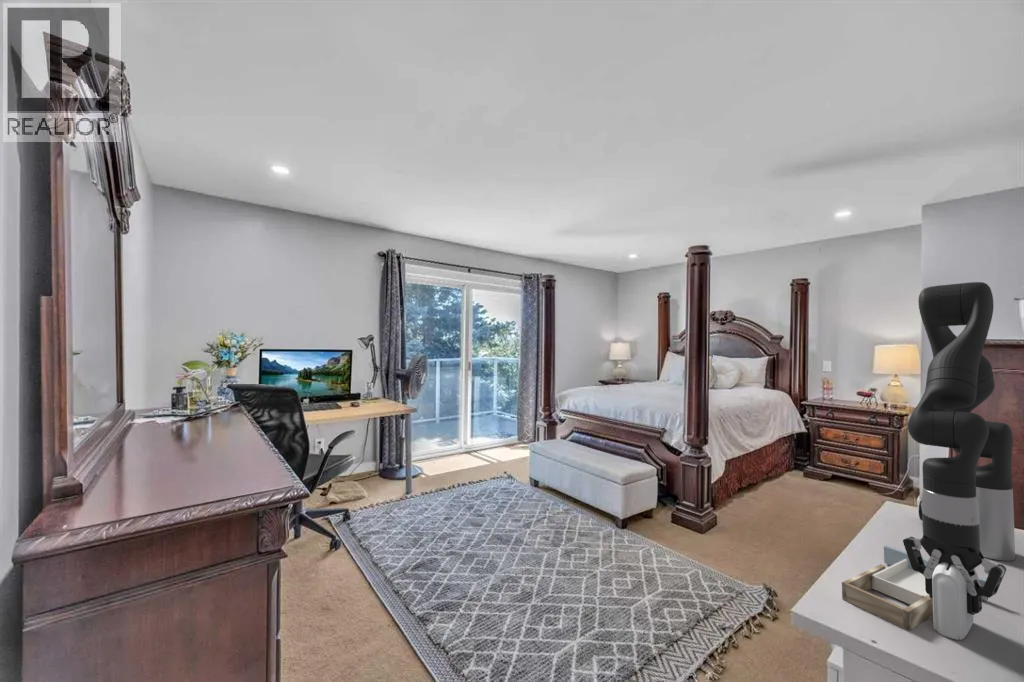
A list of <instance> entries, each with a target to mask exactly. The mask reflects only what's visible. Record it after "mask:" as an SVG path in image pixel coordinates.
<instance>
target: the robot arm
mask: <svg viewBox="0 0 1024 682" xmlns="http://www.w3.org/2000/svg"><path fill="white" fill-rule="evenodd" d="M917 302H918V310H919V314H920V317H921V321H922V323H923V327H924V330H925V332H926V335H927V339H928V342H929V344H930V348H931V351H932V360H931V361H930V363H929V365H928V368H927V373H926V382H925V388H924V392H923V395H922V397H921V398H920V400H919V402H918V404H917V405H916V406H915V408H914V409H913V411H912V413H911V414H910V417H909V418H908V422H907V430H908V433H909V435H910V437H911V438H912V440H913V441H915V442H916V443H918V444H921V445H925V446H933V447H939V448H940V447H941V448H948V449H952V450H953V451H954V453H958V454H957V455H956V456H951V457H949V456H948V457H929V458H926V459H925V460H924V461H922V493H921V495H922V496H921V500H922V504H921V509H922V520H921V521H922V534H923V535H922V537H921V538H915V537H914V536H909V537H905V539H903V540H902V543H903V546H904V549H905V552H907V555H908V558H909V561H910V564H911V567H912V569H913V570H914V571H918V572H920V573H921V574H923V575H924V577H925V587H926V588H925V590H926V593H927V594H929V597H930V598H932V599H933V589H932V575H933V572H934V569H935V568H936V566H937V565H938V564H939V563H942V562H946V563H948V564H949V566H951V565H955V566H956V569H957V570H959V571H960V573H961V574H962V575H963V577H964V579H965V581H966V588H967V591H968V593H967V613H969V614H971V615H973V616H974V615H976V614H979V613H980V612H981V611H982V610H983V600H982V596H985V597H988V599H989V598H992V597H993V596H994V595H996V594H997V593H998V590H999V588H1000V586H1001V583H1002V581H1003V579H1004V577H1005V575H1006V572H1007V567H1006V566H1005V565H1003V564H1000V563H999V564H997V563H993V562H991V561H990V560H987V559H991V560H996V561H1005V562H1006V561H1009V562H1010V561H1014V560H1016V544H1015V543H1016V541H1015V540H1016V537H1015V535H1016V534H1015V512H1014V509H1015V507H1014V489H1013V488H1014V487H1013V486H1014V485H1013V467H1012V466H1013V465H1012V463H1013V447H1014V443H1013V442H1014V440H1013V439H1014V437H1013V430H1012V429H1011V427H1010V426H1009V424H1007V423H1004V422H999V421H992V420H991V421H990V420H989V421H988V420H985V419H984V418H983V417H982V416H981V415H979V414H978V413H976V412H972V411H973V410H975V409H976V408H977V407H979V406H980V405H981V404H982V403H983V402H985V401H986V400H987V399H988V398H989V397H990V396H991V395H992V393H993V392H994V390H995V385H996V383H995V378H994V372H993V368H992V367H993V366H992V364H991V362H990V361H989V359H988V358H986V356H985V355H983V351H984V348H985V344H986V341H987V338H988V335H989V331H990V327H991V323H992V319H993V313H994V296H993V292H992V289H991V287H990V285H988V283H985V282H983V281H982V282H981V281H976V282H975V281H971V282H960V283H950V284H941V285H940V284H939V285H934V286H932V285H931V286H928V287H925V288H923V289H922V290H921V291H920V293H919V295H918V301H917ZM951 326H952V327H953V326H965V327H964V329H963V330H962V331H961V332H960V334H959V335H955V333H954V332H953V331H952V330H951V328H950V327H951ZM980 458H985V459H991V460H992V461H991V462H990V463H987V464H984V465H980V466H978V463H979V460H980ZM922 548H923V549H924V550H925V552H926V553H927V555H928V556H929V559H928V560H929V561H928V563H927V565H926V566H925V564H924V561H923V558H924V557H923V556H922V552H921V549H922ZM980 565H981V566H982V567H983V568H984V569H983V570H984V571H983V572H984V573H985V574H986V575H987V578H986V582H985V584H984V587H983V586H981V585H980V583H979V581H978V577H979V575H978V573H977V570H976V568H977V567H979V566H980Z"/></svg>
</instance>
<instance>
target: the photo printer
mask: <svg viewBox="0 0 1024 682" xmlns="http://www.w3.org/2000/svg"><path fill="white" fill-rule="evenodd" d="M932 589H933V616H932V617H933V628H934V630H935V631H937V632H938V633H939V634H940V635H942V636H943V637H944V636H945V637H946V638H950V639H953V640H957V641H959V640H964V639H965V638H966V636H967V635H968V633H969V632H970V630H971V628H972V626H973V624H974V615H971V614H969V613H967V593H968V591H967V588H966V581H965V579H964V577H963V575H962V574H961V573H960V571H959V570H957V569H956V566H955V565H951V566H949V564H948V563H946V562H942V563H939V564H938V565H937V566H936V568H935V569H934V572H933V575H932Z"/></svg>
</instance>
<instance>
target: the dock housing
mask: <svg viewBox="0 0 1024 682" xmlns="http://www.w3.org/2000/svg"><path fill="white" fill-rule="evenodd" d="M885 568H886V566H885V564H879V565H877V566H874V567H872V568H869V569H868V570H865V571H863V572H861V573H859V574H857V575H854V576H853V577H850V578H849V579H846V580H844V581H841V595H842V596H841V597H842V598H841V599H842V600H843V601H846V602H848V603H850V604H852V605H854V606H856V607H858V608H860V609H863V611H867V612H868V613H871V614H873V615H875V616H877V617H879V616H880V617H879V618H881V617H883V618H884V620H885V619H886V620H885V621H888V622H890V623H892V622H893V624H894V623H895V624H894V625H896V626H898V625H899V626H898V627H901V628H902V629H904V630H907V631H911V630H912V629H915V628H916V627H917V626H918V625H921V624H923V622H925V621H926V620H928V619H930V618H932V617H933V599H932V598H930V597H929V595H927V596H926V597H924V598H922V599H920V600H919V601H917V602H915V603H913V604H912V605H910V604H909V605H908V606H906V607H903V606H901V605H898V604H895V603H894V602H893V601H892V602H891V601H889V600H887V599H885V598H882V597H880V596H877V595H875V594H873V593H871V592H869V590H871V589H873V588H872V577H871V575H873V574H875V573H877V572H879V571H881V570H883V569H885ZM883 618H882V619H883Z"/></svg>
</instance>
